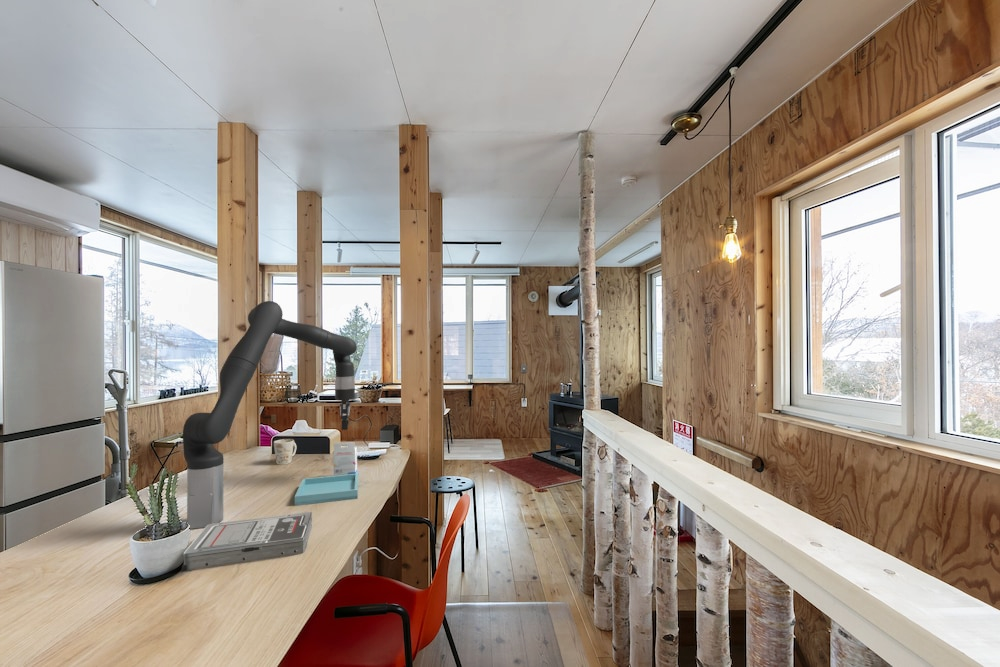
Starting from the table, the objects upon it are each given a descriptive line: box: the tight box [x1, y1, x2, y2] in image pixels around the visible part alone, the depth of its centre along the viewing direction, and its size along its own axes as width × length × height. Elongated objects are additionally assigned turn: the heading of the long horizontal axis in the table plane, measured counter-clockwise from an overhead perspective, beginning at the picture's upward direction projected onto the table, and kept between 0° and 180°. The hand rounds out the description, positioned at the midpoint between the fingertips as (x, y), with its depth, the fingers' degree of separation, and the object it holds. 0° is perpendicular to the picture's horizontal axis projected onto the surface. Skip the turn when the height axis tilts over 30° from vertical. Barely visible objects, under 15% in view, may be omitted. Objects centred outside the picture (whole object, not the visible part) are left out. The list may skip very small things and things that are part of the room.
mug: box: [273, 438, 298, 465], centre depth 200 cm, size 8×13×10 cm, turn 170°
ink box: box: [332, 441, 358, 476], centre depth 175 cm, size 8×5×15 cm, turn 99°
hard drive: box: [181, 511, 313, 572], centre depth 117 cm, size 18×27×4 cm
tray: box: [294, 473, 359, 506], centre depth 158 cm, size 20×20×3 cm
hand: (345, 427), depth 175 cm, fingers open, 8 cm apart
